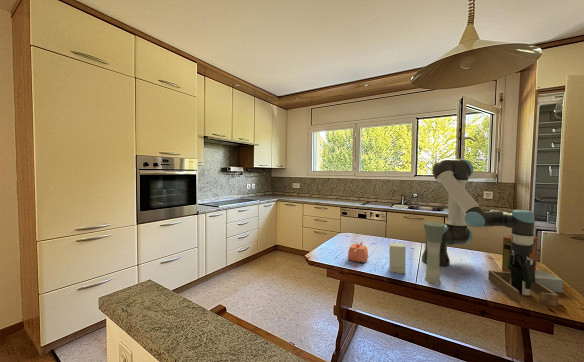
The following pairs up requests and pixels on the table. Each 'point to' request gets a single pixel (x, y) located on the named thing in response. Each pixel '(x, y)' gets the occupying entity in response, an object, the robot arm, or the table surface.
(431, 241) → the container
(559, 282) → the slate plinth
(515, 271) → the cup
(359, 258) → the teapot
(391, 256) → the skincare box
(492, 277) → the walnut frame
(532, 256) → the box
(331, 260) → the table surface
